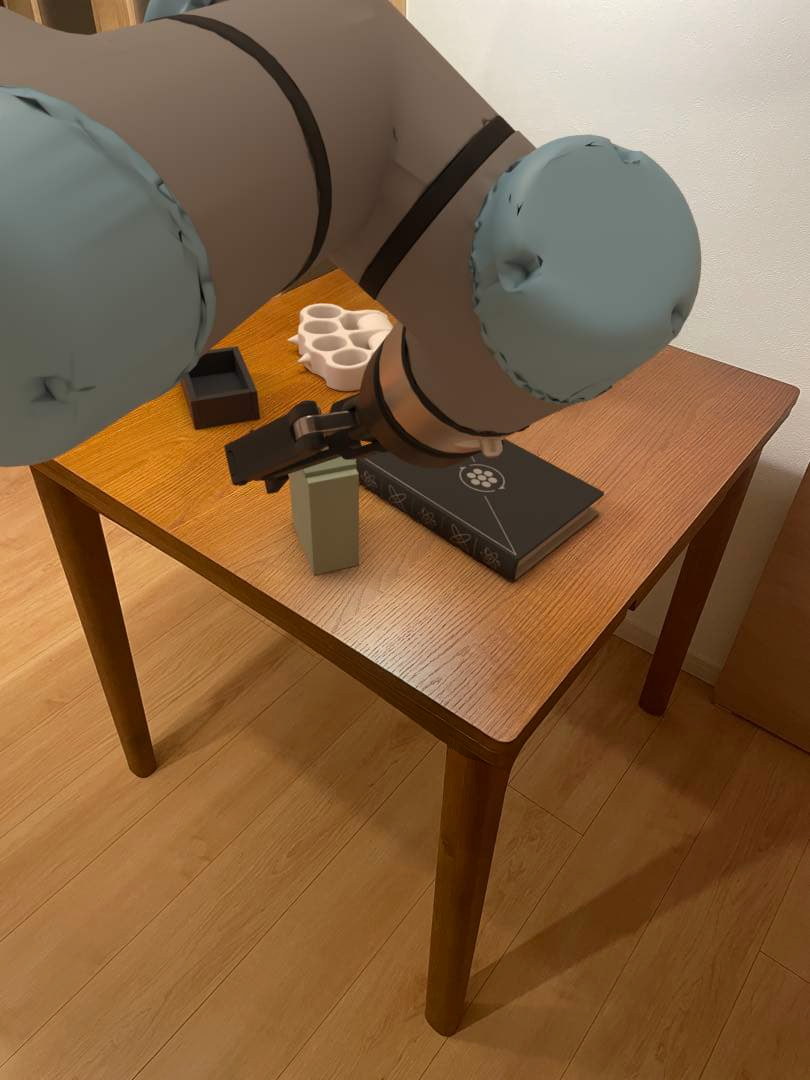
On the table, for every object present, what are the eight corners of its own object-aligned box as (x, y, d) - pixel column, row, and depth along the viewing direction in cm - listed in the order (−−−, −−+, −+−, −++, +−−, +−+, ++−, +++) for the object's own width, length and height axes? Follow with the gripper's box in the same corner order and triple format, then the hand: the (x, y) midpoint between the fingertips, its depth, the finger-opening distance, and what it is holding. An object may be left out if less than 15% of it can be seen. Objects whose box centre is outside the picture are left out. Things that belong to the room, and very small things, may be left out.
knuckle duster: (420, 381, 102) (308, 398, 98) (378, 318, 114) (277, 330, 111) (422, 358, 100) (307, 373, 96) (378, 296, 112) (276, 308, 108)
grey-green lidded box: (313, 575, 75) (307, 478, 67) (292, 523, 81) (284, 427, 73) (359, 565, 76) (359, 468, 69) (335, 514, 82) (333, 419, 74)
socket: (195, 429, 92) (190, 401, 90) (180, 381, 100) (175, 354, 97) (260, 418, 94) (257, 390, 92) (240, 372, 102) (237, 345, 99)
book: (353, 481, 86) (353, 459, 84) (445, 428, 94) (446, 407, 92) (511, 584, 75) (515, 561, 73) (599, 514, 83) (605, 492, 81)
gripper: (210, 506, 35) (200, 542, 56) (684, 413, 42) (521, 475, 63) (173, 341, 35) (176, 437, 56) (652, 275, 42) (499, 382, 63)
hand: (358, 457), depth 59 cm, fingers open, 13 cm apart
